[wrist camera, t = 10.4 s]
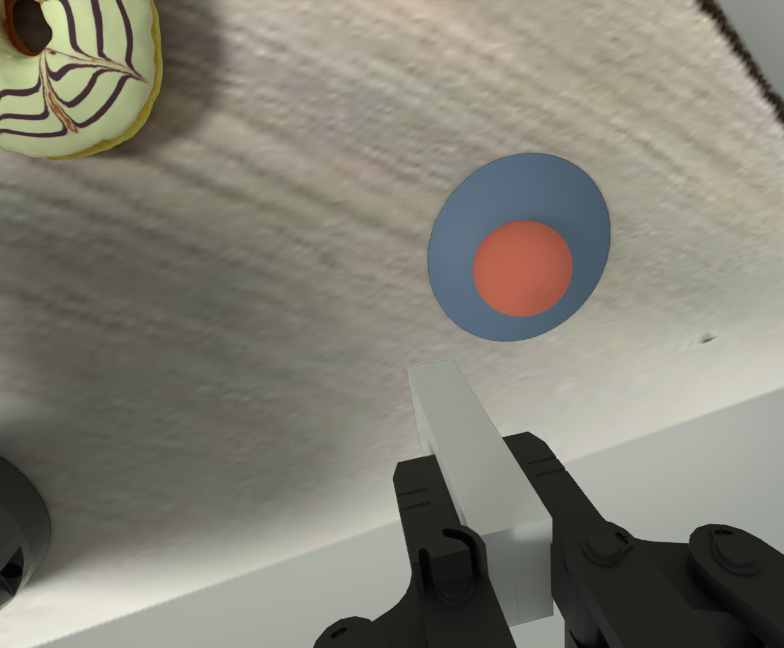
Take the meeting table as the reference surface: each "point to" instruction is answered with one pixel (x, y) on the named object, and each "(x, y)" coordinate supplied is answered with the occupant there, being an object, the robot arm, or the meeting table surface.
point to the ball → (522, 268)
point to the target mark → (508, 204)
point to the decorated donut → (79, 77)
